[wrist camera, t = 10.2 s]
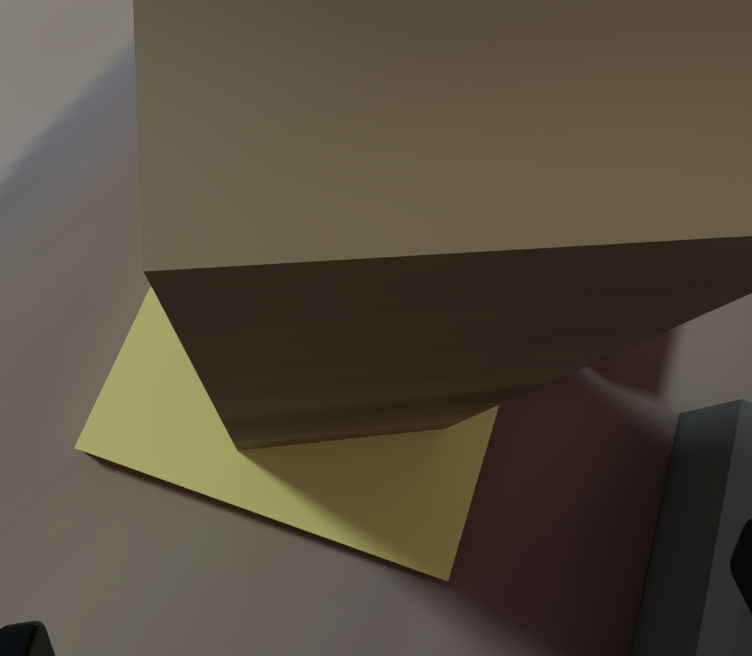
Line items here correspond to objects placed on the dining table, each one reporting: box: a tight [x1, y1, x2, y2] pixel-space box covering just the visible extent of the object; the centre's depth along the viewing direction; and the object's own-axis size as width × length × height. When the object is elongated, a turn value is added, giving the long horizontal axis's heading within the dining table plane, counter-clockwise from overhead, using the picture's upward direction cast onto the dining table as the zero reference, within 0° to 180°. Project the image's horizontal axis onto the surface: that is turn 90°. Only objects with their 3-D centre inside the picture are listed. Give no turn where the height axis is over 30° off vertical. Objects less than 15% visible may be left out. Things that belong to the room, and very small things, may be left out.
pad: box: [75, 287, 499, 581], centre depth 17 cm, size 9×9×1 cm
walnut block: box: [133, 0, 752, 451], centre depth 11 cm, size 5×5×12 cm
